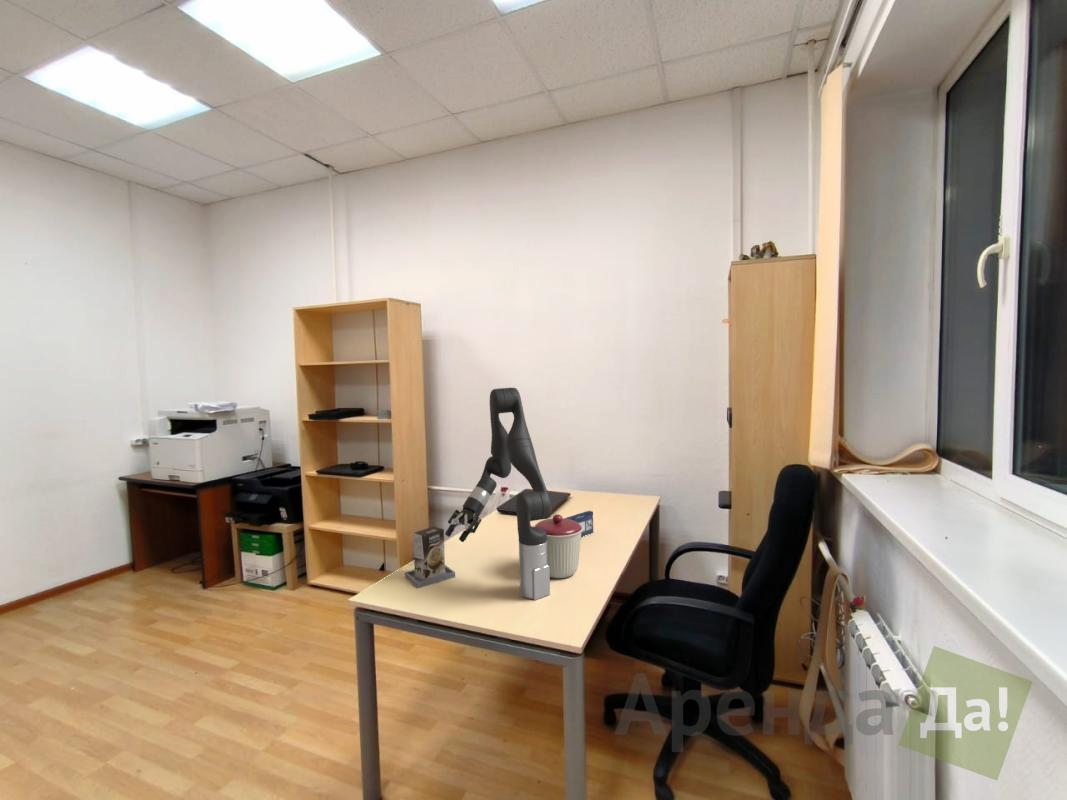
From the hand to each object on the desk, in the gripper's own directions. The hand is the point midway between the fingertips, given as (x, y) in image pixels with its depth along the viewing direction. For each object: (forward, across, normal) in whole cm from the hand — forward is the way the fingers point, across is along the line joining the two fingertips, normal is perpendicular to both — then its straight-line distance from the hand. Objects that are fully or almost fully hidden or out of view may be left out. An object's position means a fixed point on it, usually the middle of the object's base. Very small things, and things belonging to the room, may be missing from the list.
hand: (453, 538), depth 173 cm
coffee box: (+15, 0, 0) cm, 15 cm away
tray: (+16, 0, 0) cm, 16 cm away
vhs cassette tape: (-30, +15, +47) cm, 58 cm away
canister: (-7, +32, +23) cm, 41 cm away
